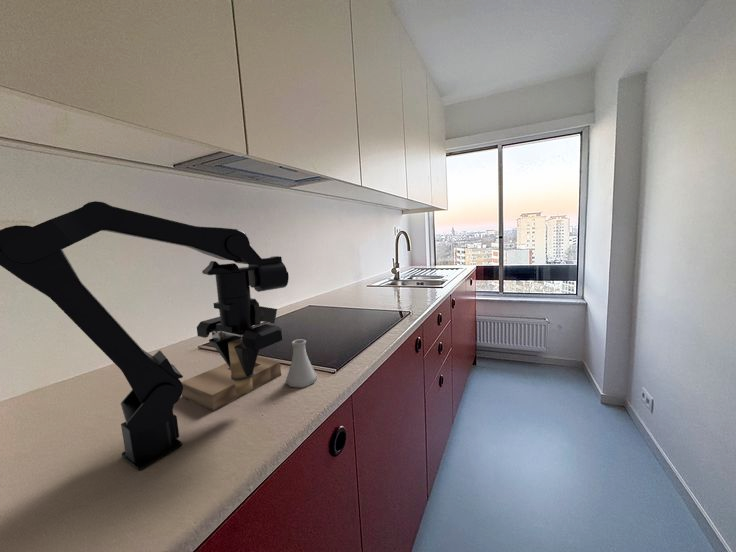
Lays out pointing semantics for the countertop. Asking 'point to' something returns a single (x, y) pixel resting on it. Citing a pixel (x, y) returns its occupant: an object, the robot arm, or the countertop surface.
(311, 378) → the flask
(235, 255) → the robot arm
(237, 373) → the oak peg
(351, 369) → the countertop surface
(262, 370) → the wooden peg board
